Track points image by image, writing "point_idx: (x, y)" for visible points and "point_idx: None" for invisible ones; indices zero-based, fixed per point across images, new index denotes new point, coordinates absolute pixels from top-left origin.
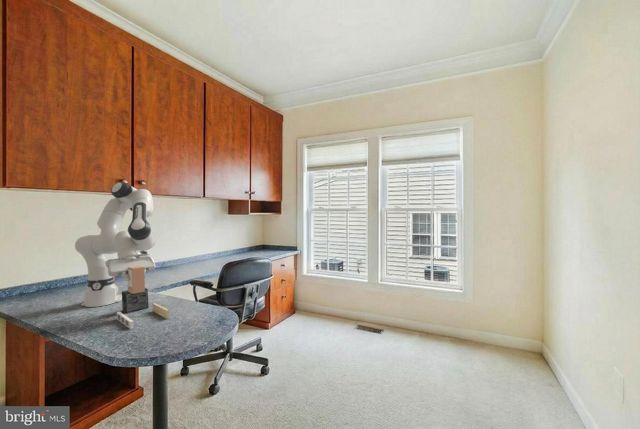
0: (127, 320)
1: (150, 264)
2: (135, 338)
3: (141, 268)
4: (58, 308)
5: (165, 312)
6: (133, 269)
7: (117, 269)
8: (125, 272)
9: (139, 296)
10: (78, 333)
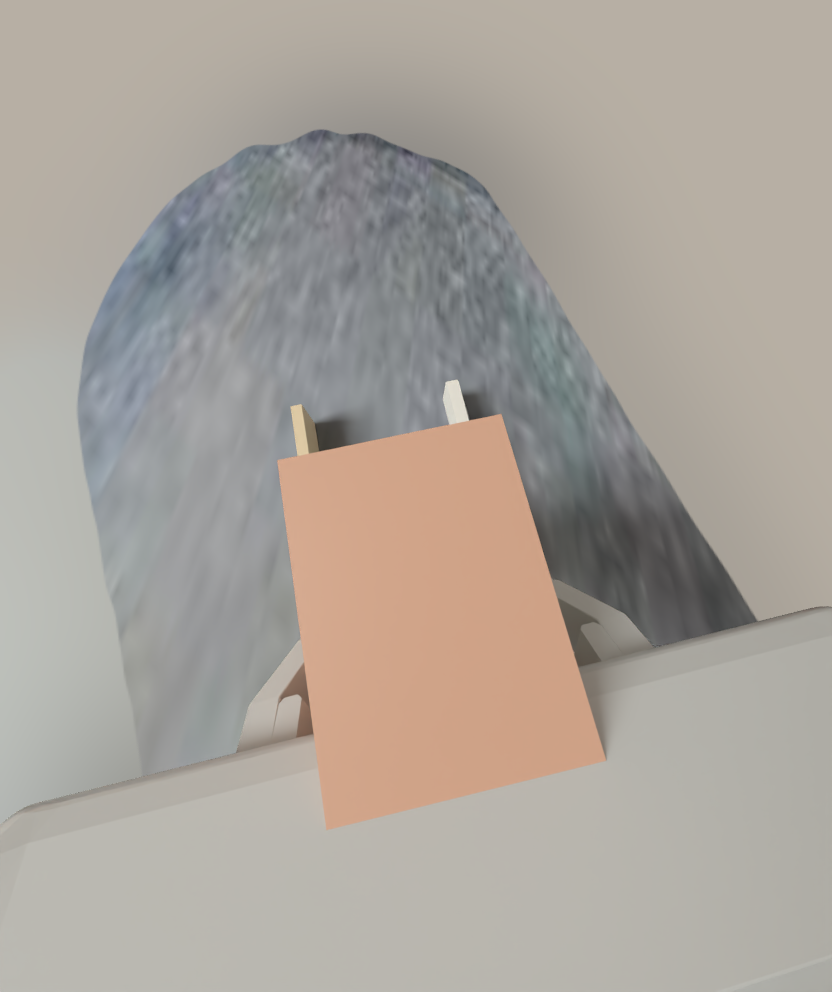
0: (466, 413)
1: (27, 898)
2: (442, 297)
3: (341, 455)
4: None
5: (308, 427)
6: (483, 424)
7: (804, 670)
8: (592, 642)
9: None
10: (629, 482)
